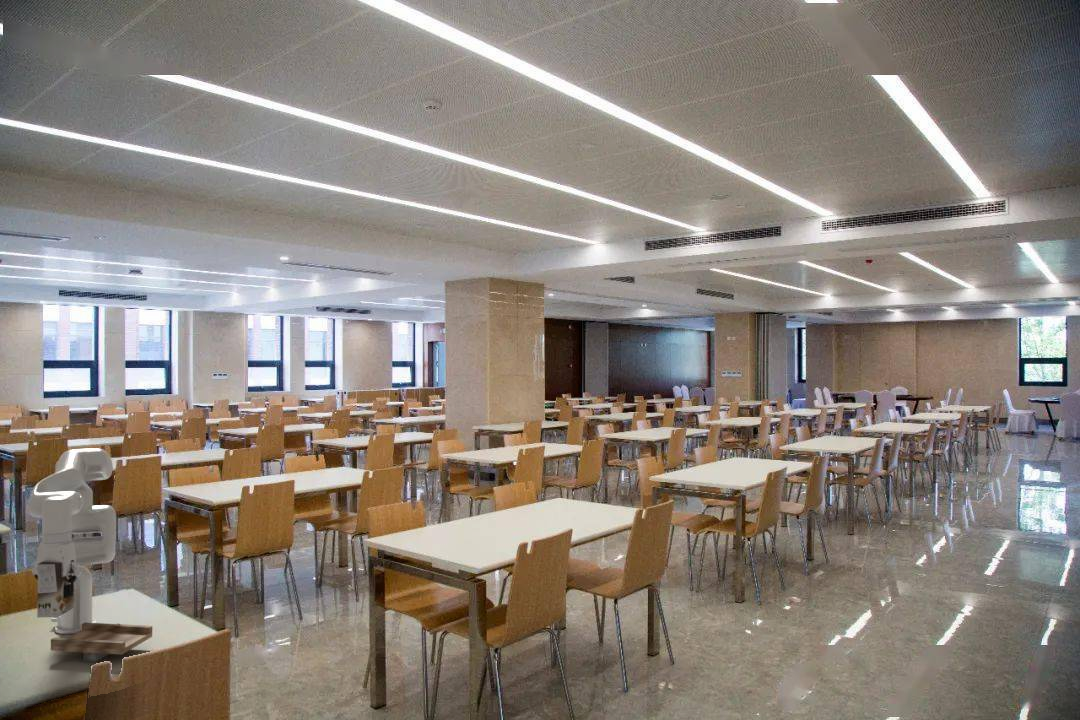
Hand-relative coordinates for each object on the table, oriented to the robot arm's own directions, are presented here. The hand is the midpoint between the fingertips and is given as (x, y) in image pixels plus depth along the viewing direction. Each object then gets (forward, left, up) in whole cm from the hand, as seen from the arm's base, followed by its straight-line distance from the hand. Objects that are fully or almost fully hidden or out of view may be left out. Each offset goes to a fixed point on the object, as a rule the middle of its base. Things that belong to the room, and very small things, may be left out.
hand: (56, 595), depth 226 cm
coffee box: (0, 0, -5) cm, 5 cm away
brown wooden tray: (+4, +15, -23) cm, 28 cm away
